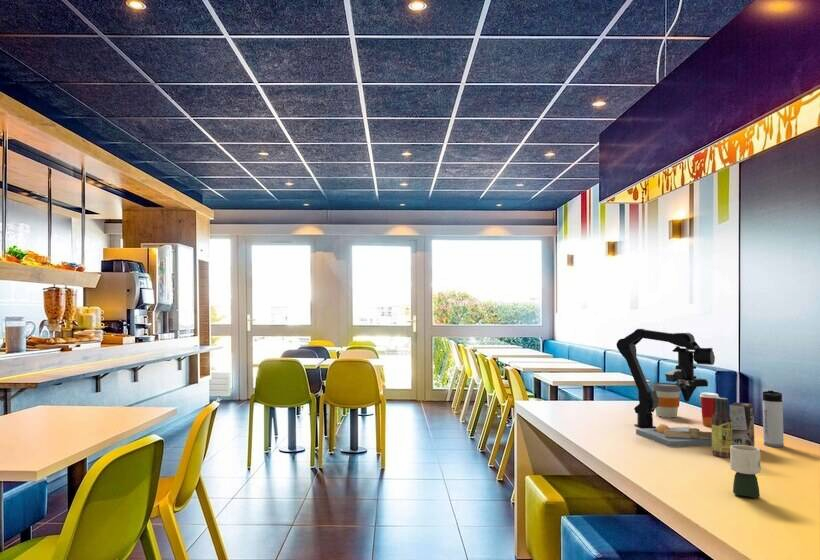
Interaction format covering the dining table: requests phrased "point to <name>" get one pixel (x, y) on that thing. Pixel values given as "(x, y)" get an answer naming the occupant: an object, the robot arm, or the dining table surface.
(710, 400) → the paper cup
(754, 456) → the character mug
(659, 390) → the reusable coffee cup
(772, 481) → the dining table surface
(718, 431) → the sauce bottle
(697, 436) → the lever
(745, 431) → the coffee box
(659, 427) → the ball
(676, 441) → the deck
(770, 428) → the travel mug
